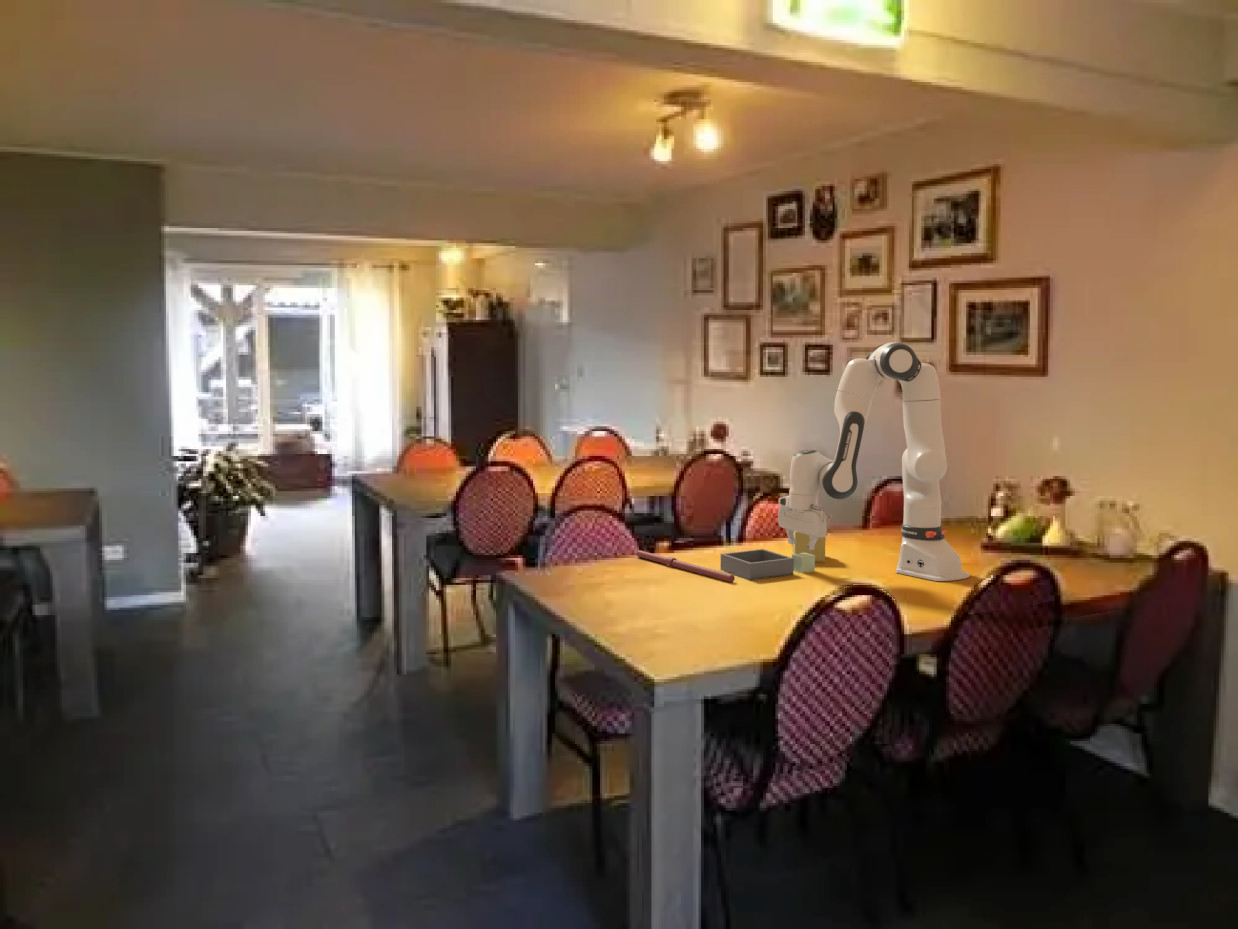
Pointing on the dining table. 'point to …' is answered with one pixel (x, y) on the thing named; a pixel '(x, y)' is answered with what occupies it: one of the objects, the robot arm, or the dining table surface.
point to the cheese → (802, 546)
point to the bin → (757, 564)
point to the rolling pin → (687, 566)
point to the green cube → (804, 562)
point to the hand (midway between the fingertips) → (801, 546)
